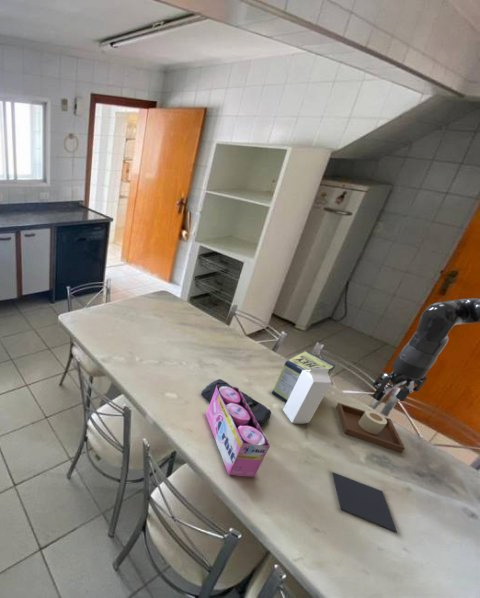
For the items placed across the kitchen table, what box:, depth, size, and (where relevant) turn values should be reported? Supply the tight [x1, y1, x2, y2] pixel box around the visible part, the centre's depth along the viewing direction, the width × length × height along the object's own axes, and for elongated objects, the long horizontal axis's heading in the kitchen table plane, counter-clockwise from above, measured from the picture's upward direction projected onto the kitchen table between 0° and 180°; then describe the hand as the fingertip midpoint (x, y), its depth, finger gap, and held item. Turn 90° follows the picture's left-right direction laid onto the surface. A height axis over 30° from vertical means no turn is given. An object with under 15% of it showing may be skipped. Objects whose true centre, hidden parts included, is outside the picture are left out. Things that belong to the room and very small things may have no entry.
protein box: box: [271, 350, 336, 404], centre depth 123 cm, size 10×16×16 cm
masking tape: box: [359, 409, 387, 434], centre depth 112 cm, size 6×6×5 cm
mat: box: [331, 472, 398, 533], centre depth 90 cm, size 12×12×1 cm
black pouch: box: [200, 378, 272, 427], centre depth 119 cm, size 15×22×5 cm
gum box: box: [205, 385, 271, 478], centre depth 102 cm, size 24×8×14 cm, turn 178°
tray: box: [335, 402, 406, 454], centre depth 113 cm, size 16×14×3 cm
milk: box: [282, 368, 332, 425], centre depth 111 cm, size 6×6×22 cm
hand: (387, 399), depth 107 cm, fingers open, 8 cm apart
